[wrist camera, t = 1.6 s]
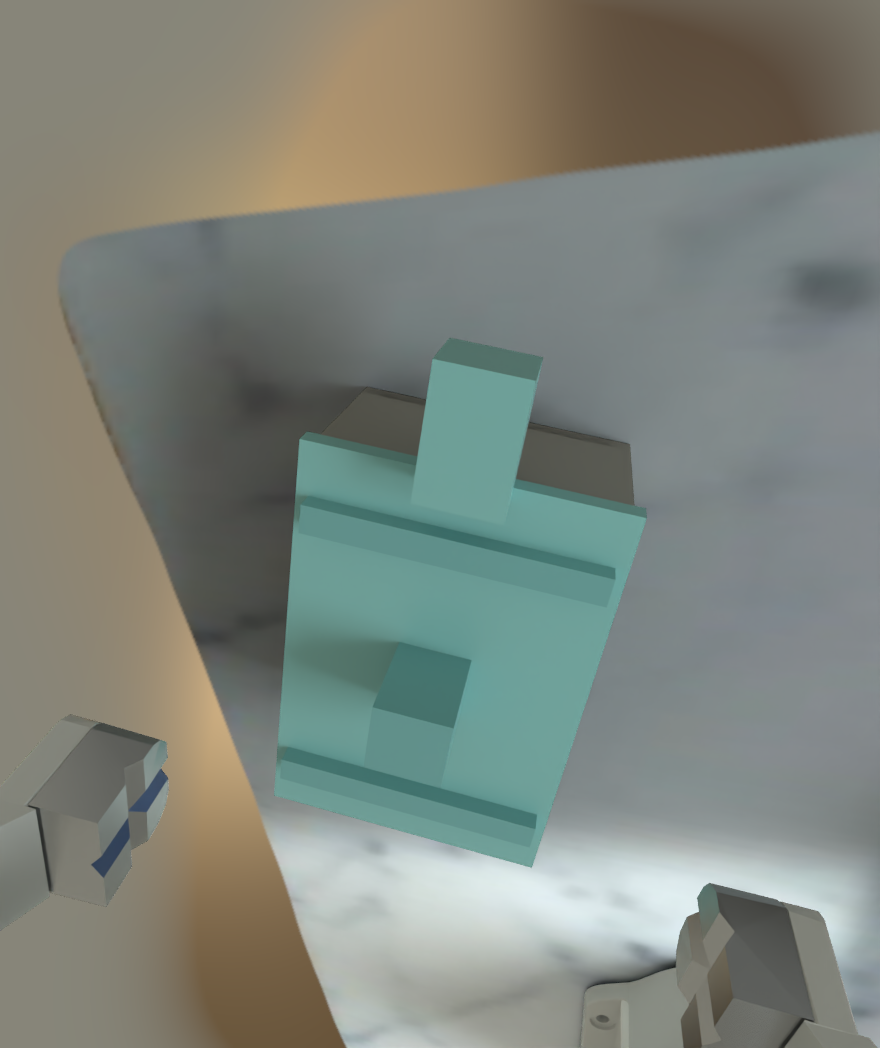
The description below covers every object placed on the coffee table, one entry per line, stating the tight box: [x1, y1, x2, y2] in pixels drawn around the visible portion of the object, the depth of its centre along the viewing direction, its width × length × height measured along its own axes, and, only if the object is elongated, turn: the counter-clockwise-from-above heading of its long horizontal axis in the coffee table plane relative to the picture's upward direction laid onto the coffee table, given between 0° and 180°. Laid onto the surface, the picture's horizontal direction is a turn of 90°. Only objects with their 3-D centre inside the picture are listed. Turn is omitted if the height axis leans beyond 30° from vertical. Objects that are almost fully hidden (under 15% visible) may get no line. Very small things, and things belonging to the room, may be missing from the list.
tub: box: [321, 387, 634, 506], centre depth 35 cm, size 18×12×7 cm, turn 171°
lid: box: [274, 338, 647, 868], centre depth 28 cm, size 23×13×5 cm, turn 171°
